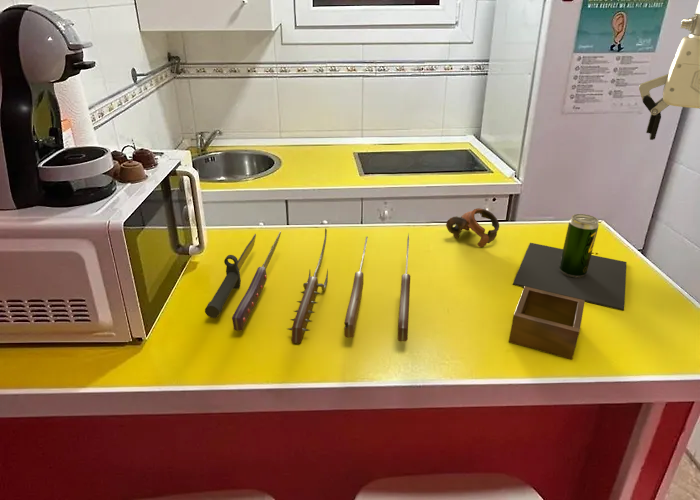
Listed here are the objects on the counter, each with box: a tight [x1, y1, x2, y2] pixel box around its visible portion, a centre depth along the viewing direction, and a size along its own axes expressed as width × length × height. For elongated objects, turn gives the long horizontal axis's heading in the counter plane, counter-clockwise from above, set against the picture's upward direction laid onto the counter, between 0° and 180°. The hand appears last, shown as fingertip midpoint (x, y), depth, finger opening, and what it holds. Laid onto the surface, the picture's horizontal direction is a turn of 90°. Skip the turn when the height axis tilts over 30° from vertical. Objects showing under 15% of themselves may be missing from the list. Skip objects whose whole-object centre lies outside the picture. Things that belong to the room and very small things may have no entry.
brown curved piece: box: [445, 207, 500, 248], centre depth 119 cm, size 12×10×8 cm
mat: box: [512, 242, 627, 312], centre depth 107 cm, size 20×20×1 cm
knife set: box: [204, 228, 411, 344], centre depth 98 cm, size 35×33×8 cm
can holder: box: [508, 286, 586, 360], centre depth 87 cm, size 10×10×6 cm
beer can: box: [559, 213, 600, 278], centre depth 104 cm, size 5×5×12 cm
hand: (684, 141), depth 85 cm, fingers open, 9 cm apart
